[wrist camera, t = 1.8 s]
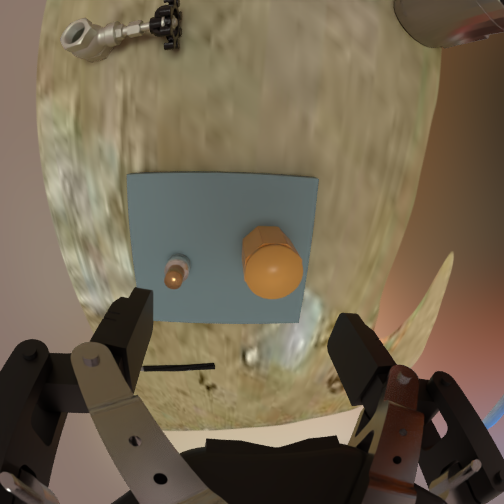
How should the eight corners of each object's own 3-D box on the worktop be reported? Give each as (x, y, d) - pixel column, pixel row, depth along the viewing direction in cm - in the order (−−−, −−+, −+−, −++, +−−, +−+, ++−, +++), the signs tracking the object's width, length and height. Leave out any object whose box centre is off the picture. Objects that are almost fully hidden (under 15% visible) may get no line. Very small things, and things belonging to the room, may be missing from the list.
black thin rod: (141, 368, 38) (139, 372, 37) (139, 364, 37) (137, 368, 36) (215, 365, 38) (215, 370, 37) (214, 361, 38) (213, 366, 37)
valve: (83, 77, 21) (180, 58, 22) (53, 66, 15) (167, 37, 16) (89, 31, 19) (184, 11, 20) (63, 14, 13) (174, -16, 14)
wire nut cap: (291, 227, 29) (306, 247, 23) (287, 271, 31) (299, 298, 25) (243, 225, 28) (246, 246, 23) (241, 270, 30) (244, 299, 25)
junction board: (314, 177, 28) (318, 178, 27) (296, 316, 35) (298, 322, 34) (131, 173, 27) (126, 174, 25) (145, 313, 33) (142, 319, 32)
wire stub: (190, 253, 29) (185, 269, 25) (191, 275, 30) (186, 293, 26) (167, 253, 29) (159, 269, 25) (169, 274, 30) (161, 292, 26)
